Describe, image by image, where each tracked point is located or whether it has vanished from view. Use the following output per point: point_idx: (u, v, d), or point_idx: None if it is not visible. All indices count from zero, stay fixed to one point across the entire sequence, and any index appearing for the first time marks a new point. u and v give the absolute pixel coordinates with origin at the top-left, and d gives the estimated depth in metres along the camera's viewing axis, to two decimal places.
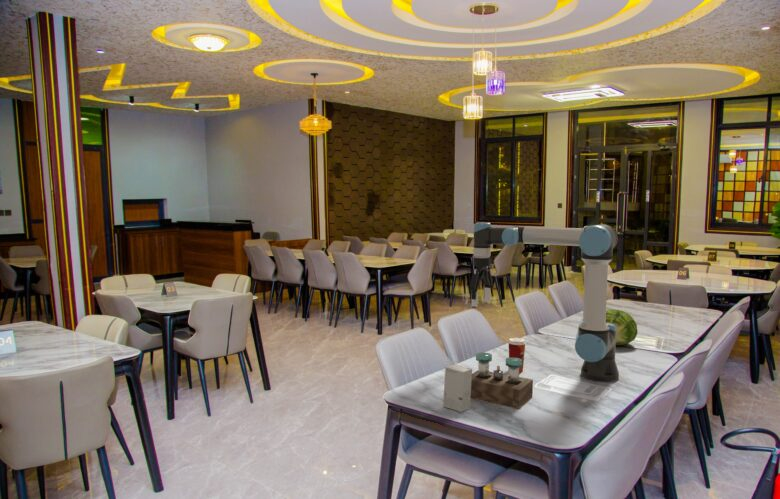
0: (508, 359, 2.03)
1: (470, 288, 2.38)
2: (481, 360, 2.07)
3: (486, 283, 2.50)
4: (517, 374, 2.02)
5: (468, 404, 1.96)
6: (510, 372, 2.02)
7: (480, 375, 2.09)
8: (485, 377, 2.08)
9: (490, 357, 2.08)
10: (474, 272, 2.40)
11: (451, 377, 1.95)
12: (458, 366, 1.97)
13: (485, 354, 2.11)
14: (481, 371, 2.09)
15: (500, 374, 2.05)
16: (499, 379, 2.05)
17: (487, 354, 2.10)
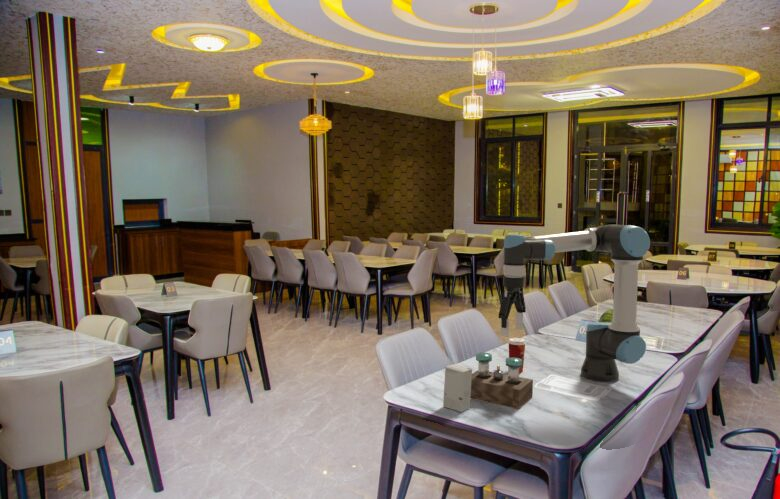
0: (508, 359, 2.03)
1: (500, 314, 1.96)
2: (481, 360, 2.07)
3: (517, 306, 2.08)
4: (517, 374, 2.02)
5: (468, 404, 1.96)
6: (510, 372, 2.02)
7: (480, 375, 2.09)
8: (485, 377, 2.08)
9: (490, 357, 2.08)
10: (505, 295, 1.98)
11: (450, 377, 1.95)
12: (458, 366, 1.97)
13: (485, 354, 2.11)
14: (481, 371, 2.09)
15: (500, 374, 2.05)
16: (499, 379, 2.05)
17: (487, 354, 2.10)
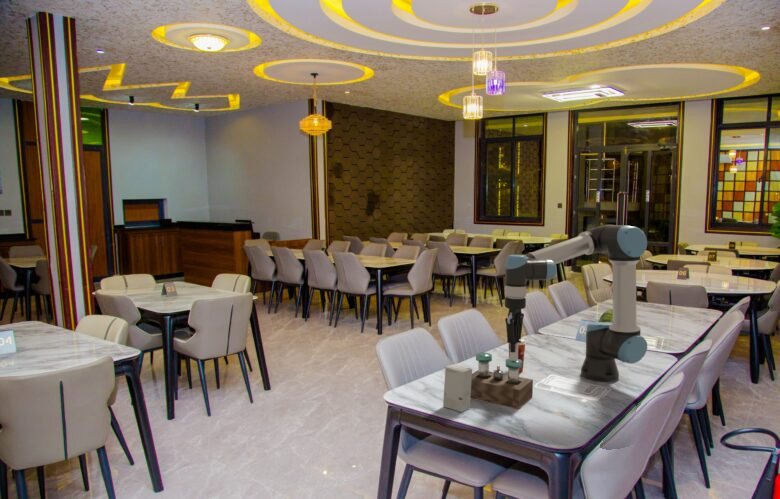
0: (508, 360, 2.03)
1: (509, 339, 2.00)
2: (481, 360, 2.07)
3: None
4: (517, 375, 2.02)
5: (468, 404, 1.96)
6: (510, 373, 2.02)
7: (480, 375, 2.09)
8: (485, 377, 2.08)
9: (490, 357, 2.08)
10: (508, 322, 1.97)
11: (451, 377, 1.95)
12: (458, 366, 1.97)
13: (485, 354, 2.11)
14: (481, 371, 2.09)
15: (500, 374, 2.05)
16: (499, 379, 2.05)
17: (487, 354, 2.10)
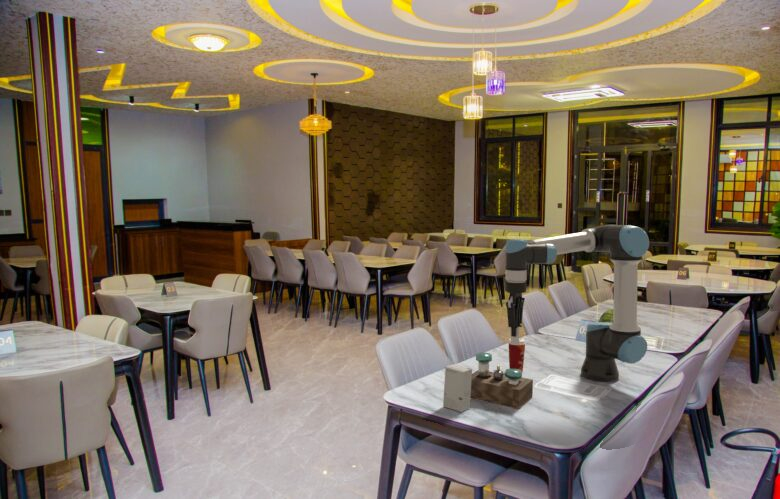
0: (508, 370, 2.04)
1: (510, 323, 1.99)
2: (481, 360, 2.07)
3: None
4: None
5: (468, 404, 1.96)
6: None
7: (480, 375, 2.09)
8: (485, 377, 2.08)
9: (490, 357, 2.08)
10: (509, 306, 1.97)
11: (451, 377, 1.95)
12: (458, 366, 1.97)
13: (485, 354, 2.11)
14: (481, 371, 2.09)
15: (500, 374, 2.05)
16: (499, 379, 2.05)
17: (487, 354, 2.10)
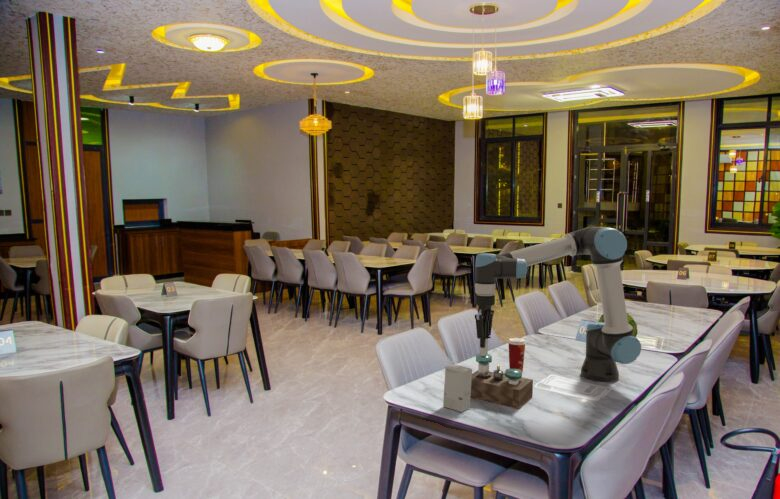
0: (508, 370, 2.04)
1: None
2: (481, 361, 2.07)
3: None
4: None
5: (468, 404, 1.96)
6: None
7: (480, 376, 2.09)
8: (485, 378, 2.09)
9: (490, 358, 2.08)
10: (477, 319, 2.04)
11: (451, 377, 1.95)
12: (458, 366, 1.97)
13: None
14: (481, 372, 2.09)
15: (500, 374, 2.05)
16: (499, 379, 2.05)
17: None
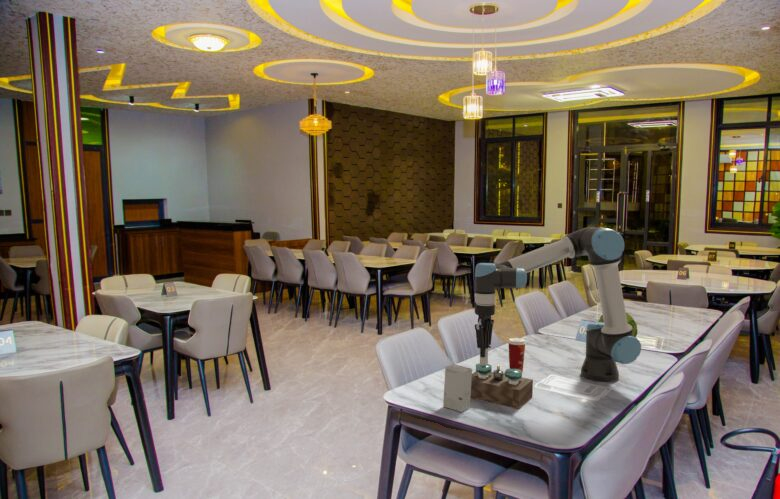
0: (508, 370, 2.04)
1: (478, 345, 2.07)
2: (481, 371, 2.08)
3: None
4: None
5: (468, 404, 1.96)
6: None
7: None
8: None
9: (490, 368, 2.08)
10: (477, 328, 2.04)
11: (451, 377, 1.95)
12: (458, 366, 1.97)
13: None
14: None
15: (500, 374, 2.05)
16: (499, 379, 2.05)
17: (487, 365, 2.10)
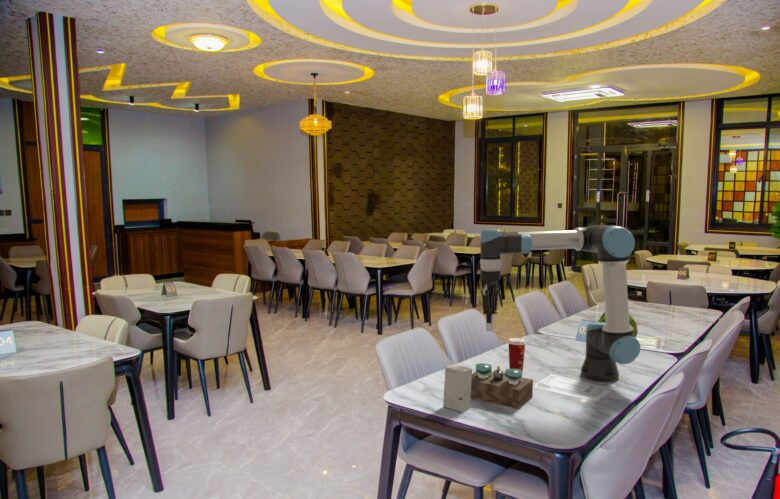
0: (508, 370, 2.04)
1: (485, 310, 2.07)
2: (481, 371, 2.08)
3: None
4: None
5: (468, 404, 1.96)
6: None
7: None
8: None
9: (490, 368, 2.08)
10: (483, 294, 2.05)
11: (451, 377, 1.95)
12: (458, 366, 1.97)
13: (484, 364, 2.11)
14: None
15: (500, 374, 2.05)
16: (499, 379, 2.05)
17: (487, 365, 2.10)
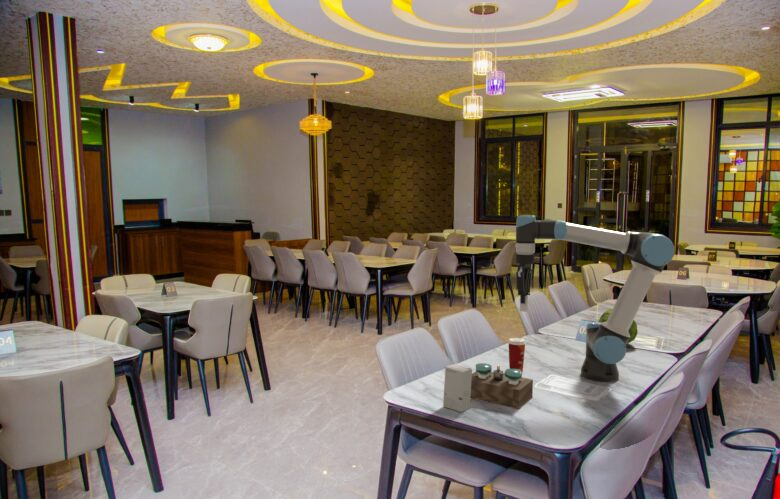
0: (508, 370, 2.04)
1: (519, 291, 2.20)
2: (481, 371, 2.08)
3: None
4: None
5: (468, 404, 1.96)
6: None
7: None
8: None
9: (490, 368, 2.08)
10: (518, 276, 2.18)
11: (451, 377, 1.95)
12: (458, 366, 1.97)
13: (484, 364, 2.11)
14: None
15: (500, 374, 2.05)
16: (499, 379, 2.05)
17: (487, 365, 2.10)
